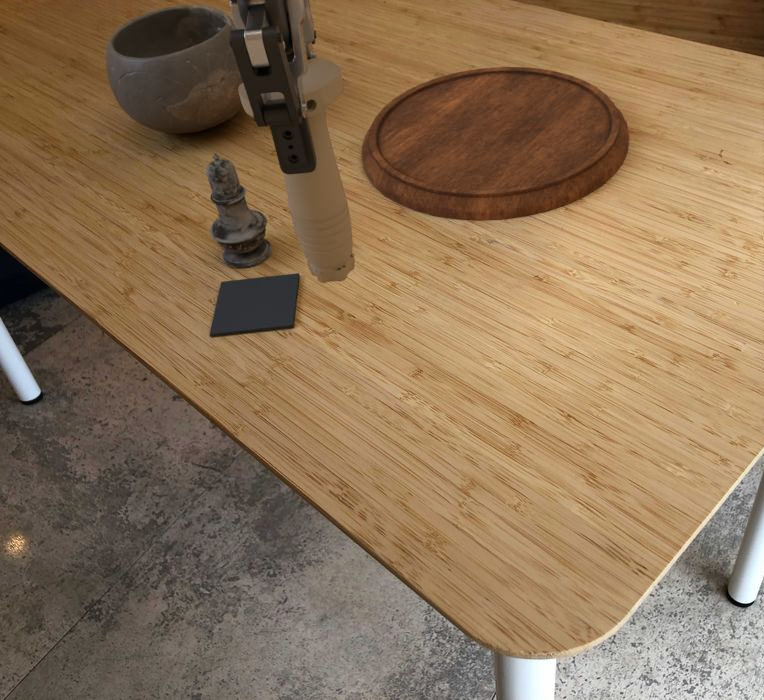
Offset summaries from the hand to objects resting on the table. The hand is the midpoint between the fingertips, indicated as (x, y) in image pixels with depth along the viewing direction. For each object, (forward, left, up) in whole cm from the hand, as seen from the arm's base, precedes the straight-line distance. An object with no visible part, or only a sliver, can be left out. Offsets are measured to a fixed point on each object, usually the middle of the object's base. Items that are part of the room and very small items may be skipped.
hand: (304, 144), depth 55 cm
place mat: (-11, +15, -25) cm, 31 cm away
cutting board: (+15, +41, -25) cm, 50 cm away
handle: (0, 0, -11) cm, 11 cm away
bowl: (-23, +55, -25) cm, 65 cm away
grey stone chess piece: (-13, +24, -25) cm, 37 cm away
